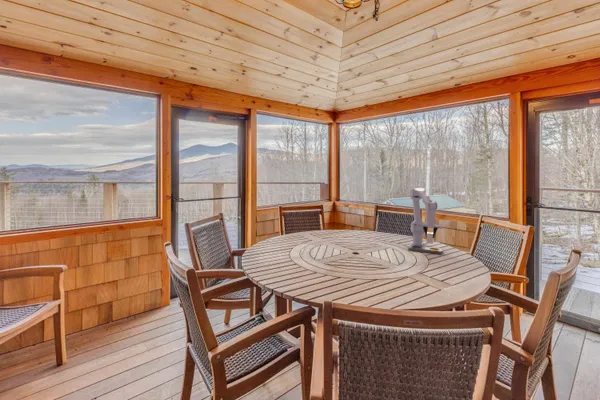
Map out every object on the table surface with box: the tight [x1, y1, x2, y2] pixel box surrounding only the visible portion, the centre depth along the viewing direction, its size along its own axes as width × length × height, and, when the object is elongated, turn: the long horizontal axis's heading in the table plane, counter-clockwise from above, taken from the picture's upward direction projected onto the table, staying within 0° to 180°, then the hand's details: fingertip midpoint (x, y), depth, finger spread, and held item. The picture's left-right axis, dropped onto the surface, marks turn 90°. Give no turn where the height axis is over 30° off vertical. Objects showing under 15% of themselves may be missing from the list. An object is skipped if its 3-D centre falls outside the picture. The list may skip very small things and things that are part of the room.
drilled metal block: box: [425, 231, 434, 245], centre depth 214 cm, size 4×4×7 cm
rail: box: [407, 244, 444, 255], centre depth 217 cm, size 8×22×2 cm, turn 60°
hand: (430, 237), depth 214 cm, fingers closed on drilled metal block, 4 cm apart
